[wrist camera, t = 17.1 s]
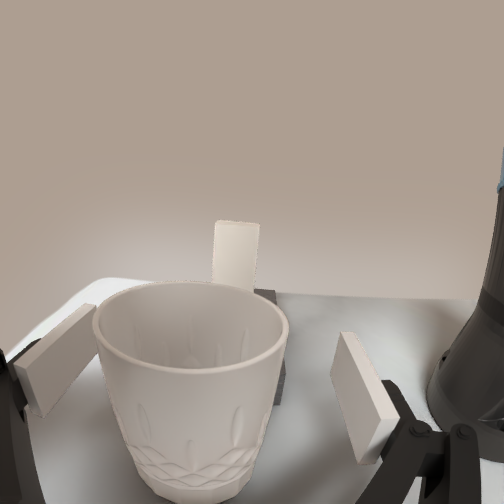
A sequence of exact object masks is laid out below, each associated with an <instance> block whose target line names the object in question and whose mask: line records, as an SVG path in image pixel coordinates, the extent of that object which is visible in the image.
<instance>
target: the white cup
mask: <svg viewBox="0 0 504 504" xmlns="http://www.w3.org/2000/svg"><path fill="white" fill-rule="evenodd" d="M92 327H93V332H94V337H95V342H96V346H97V351H98V355H99V359H100V364H101V368H102V372H103V376H104V379H105V383H106V387H107V391H108V394H109V398H110V401H111V405H112V408H113V411H114V414H115V417H116V420H117V423H118V425H119V427H120V430H121V433H122V436H123V439H124V442H125V444H126V446H127V448H128V450H129V452H130V454H131V455H132V457H133V460H134V462H135V465H136V468H137V470H138V473H139V475H140V477H141V478H142V479H143V480H144V482H145V483H146V484H147V485H148V486H149V487H150V488H151V489H152V490H153V492H154V493H155V494H156V495H159V496H161V497H163V498H165V499H168V500H170V501H172V502H175V503H177V504H217V503H220V502H222V501H225V500H227V499H230V498H232V497H234V496H236V495H237V494H238V493H239V492H240V491H241V490H242V488H243V487H244V486H245V485H246V484H247V482H248V481H249V480H250V479H251V476H252V472H253V468H254V464H255V460H256V457H257V455H258V452H259V450H260V448H261V445H262V442H263V438H264V435H265V430H266V427H267V424H268V421H269V418H270V414H271V410H272V406H273V402H274V397H275V393H276V389H277V384H278V380H279V375H280V370H281V366H282V361H283V357H284V352H285V348H286V343H287V338H288V334H289V323H288V320H287V318H286V316H285V314H284V313H283V312H282V310H281V309H280V308H279V307H277V306H276V305H275V304H274V303H272V302H271V301H269V300H268V299H266V298H264V297H262V296H260V295H257V294H255V293H253V292H250V291H247V290H244V289H241V288H237V287H233V286H228V285H223V284H217V283H210V282H199V281H166V282H156V283H149V284H144V285H139V286H135V287H132V288H129V289H126V290H123V291H121V292H118V293H116V294H114V295H112V296H111V297H109V298H108V299H106V300H105V301H104V302H102V303H101V304H100V305H99V307H98V308H97V309H96V311H95V313H94V315H93V320H92Z"/></svg>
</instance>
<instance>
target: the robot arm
mask: <svg viewBox="0 0 504 504" xmlns="http://www.w3.org/2000/svg"><path fill="white" fill-rule="evenodd" d="M497 193H498V194H499V195H498V204H497V212H496V220H495V226H494V233H493V238H492V244H491V250H490V255H489V259H488V264H487V268H486V273H485V277H484V281H483V286H482V289H481V293H480V296H479V299H478V302H477V306H476V308H475V311H474V312H473V314H472V316H471V317H470V319H469V320H468V321H467V323H466V324H465V326H464V327H463V329H462V330H461V332H460V333H459V335H458V336H457V338H456V339H455V341H454V342H453V344H452V346H451V347H450V349H449V350H447V351H446V352H445V353H444V354H443V355H442V357H441V358H440V359H439V361H438V363H437V365H436V367H435V370H434V372H433V374H432V377H431V379H430V381H429V384H428V387H427V401H428V405H429V408H430V410H431V413H432V415H433V417H434V418H435V420H436V422H437V423H438V425H439V426H440V427H441V428H442V430H443V431H444V432H438V431H433V430H432V428H431V427H430V426H429V425H428V424H427V423H425V422H423V421H420V420H417V419H416V418H415V416H414V414H413V412H412V411H411V409H410V407H409V405H408V404H407V402H406V401H405V398H404V397H403V395H402V393H401V391H400V390H399V388H398V386H397V385H395V384H394V383H393V382H392V381H391V380H380V378H379V376H378V374H377V373H376V371H375V369H374V367H373V365H372V363H371V362H370V360H369V358H368V356H367V354H366V352H365V351H364V349H363V347H362V345H361V343H360V342H359V340H358V338H357V336H356V334H355V333H354V332H340V336H339V340H338V345H337V349H336V353H335V357H334V361H333V365H332V368H331V372H330V376H331V379H332V382H333V385H334V389H335V392H336V395H337V398H338V401H339V404H340V408H341V411H342V414H343V417H344V421H345V424H346V427H347V430H348V434H349V437H350V440H351V444H352V447H353V451H354V454H355V457H356V461H357V464H358V465H367V464H375V463H376V461H377V459H378V458H379V456H380V455H381V458H382V461H383V463H382V464H381V466H380V467H379V469H378V471H377V472H376V474H375V475H374V477H373V478H372V480H371V481H370V483H369V484H368V486H367V487H366V489H365V490H364V492H363V493H362V494H361V496H360V497H359V499H358V500H357V501H356V503H355V504H402V503H403V501H404V499H405V497H406V496H407V494H408V492H409V490H410V488H411V486H412V484H413V481H414V479H415V477H416V476H417V477H422V482H421V489H420V496H419V502H418V504H481V473H480V459H479V457H482V458H484V459H487V460H491V461H495V462H501V463H504V149H503V158H502V168H501V177H500V183H499V184H498V187H497ZM96 309H97V308H96V305H92V304H87V303H85V304H83V305H82V306H81V307H80V308H78V309H77V310H76V311H75V312H73V313H72V314H71V315H70V316H68V317H67V318H66V319H65V320H63V321H62V322H61V323H60V324H59V325H57V326H56V327H55V328H54V329H53V330H51V331H50V332H49V333H48V334H47V335H45V336H44V337H43V338H42V339H41V338H40V339H37V340H35V341H33V342H31V343H30V344H29V345H28V346H26V348H24V349H23V350H22V351H21V352H19V353H18V354H17V355H16V356H15V357H14V358H12V359H11V360H10V361H9V362H8V363H6V360H5V357H4V354H3V351H2V350H1V349H0V504H46V503H45V500H44V497H43V493H42V490H41V486H40V482H39V479H38V475H37V471H36V466H35V462H34V457H33V452H32V447H31V442H30V436H29V430H28V423H27V416H26V412H25V409H24V407H25V406H26V405H27V404H28V405H29V407H30V410H31V412H32V413H33V414H35V415H38V416H40V417H42V418H45V417H46V415H47V414H48V413H49V412H50V410H51V409H52V408H53V407H54V405H55V404H56V403H57V401H58V400H59V399H60V398H61V396H62V395H63V394H64V393H65V391H66V390H67V389H68V388H69V387H70V385H71V384H72V383H73V382H74V380H75V379H76V378H77V377H78V376H79V374H80V373H81V372H82V371H83V369H84V368H85V367H86V366H87V365H88V363H89V362H90V361H91V360H92V359H93V357H94V356H95V355H96V354H97V353H98V351H97V346H96V342H95V337H94V332H93V327H92V320H93V315H94V313H95V311H96Z"/></svg>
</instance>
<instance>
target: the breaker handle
mask: <svg viewBox="0 0 504 504" xmlns="http://www.w3.org/2000/svg"><path fill="white" fill-rule="evenodd" d="M259 229H260V224H259V223H249V222H237V221H226V220H218V221H217V222H216V224H215V233H214V251H213V268H212V283H217V284H223V285H228V286H233V287H237V288H241V289H244V290H247V291H250V292H253V293H254V283H255V272H256V261H257V251H258V240H259Z"/></svg>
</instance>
